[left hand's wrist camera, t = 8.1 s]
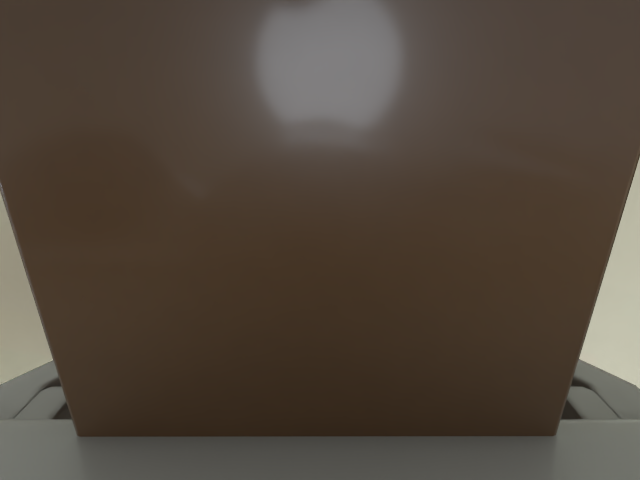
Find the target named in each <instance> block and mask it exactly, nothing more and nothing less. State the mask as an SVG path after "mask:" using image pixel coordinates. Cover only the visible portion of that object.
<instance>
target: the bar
mask: <svg viewBox="0 0 640 480" xmlns="http://www.w3.org/2000/svg"><path fill="white" fill-rule="evenodd" d="M639 157H640V0H0V191H1V194H2V197H3V201H4V204H5V207H6V210H7V213H8V217H9V220H10V223H11V226H12V229H13V233H14V236H15V239H16V242H17V245H18V249H19V252H20V255H21V258H22V261H23V265H24V268H25V271H26V274H27V277H28V281H29V284H30V287H31V290H32V293H33V297H34V300H35V303H36V306H37V309H38V313H39V316H40V319H41V322H42V325H43V329H44V332H45V335H46V338H47V341H48V345H49V348H50V351H51V354H52V357H53V361H54V364H55V367H56V370H57V373H58V377H59V380H60V383H61V386H62V389H63V393H64V396H65V399H66V402H67V405H68V409H69V412H70V415H71V418H72V421H73V425H74V428H75V431H76V434H77V436H80V437H268V436H555V435H556V433H557V430H558V426H559V423H560V420H561V416H562V413H563V410H564V406H565V403H566V400H567V396H568V393H569V390H570V386H571V383H572V380H573V377H574V373H575V370H576V367H577V363H578V360H579V357H580V353H581V350H582V347H583V343H584V340H585V337H586V333H587V330H588V327H589V323H590V320H591V317H592V313H593V310H594V307H595V303H596V300H597V297H598V293H599V290H600V287H601V283H602V280H603V277H604V273H605V270H606V267H607V263H608V260H609V257H610V253H611V250H612V247H613V243H614V240H615V237H616V233H617V230H618V227H619V223H620V220H621V217H622V213H623V210H624V207H625V203H626V200H627V197H628V193H629V190H630V187H631V183H632V180H633V177H634V173H635V170H636V167H637V164H638V160H639Z"/></svg>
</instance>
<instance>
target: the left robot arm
mask: <svg viewBox="0 0 640 480" xmlns="http://www.w3.org/2000/svg"><path fill="white" fill-rule="evenodd" d="M0 480H640V389H639V388H638V387H637V386H636V385H633V384H631V383H629V382H627V381H625V380H623V379H621V378H618V377H616V376H614V375H612V374H610V373H608V372H606V371H603V370H601V369H599V368H597V367H595V366H593V365H591V364H588V363H586V362H584V361H582V360H580V359H579V360H578V363H577V367H576V370H575V373H574V377H573V380H572V383H571V386H570V390H569V393H568V396H567V400H566V403H565V406H564V410H563V413H562V416H561V420H560V423H559V426H558V430H557V433H556V435H555V436H268V437H80V436H77V434H76V431H75V428H74V425H73V421H72V418H71V415H70V412H69V409H68V405H67V402H66V399H65V396H64V393H63V389H62V386H61V383H60V380H59V377H58V373H57V370H56V367H55V364H54V361H51V362H49V363H46V364H44V365H42V366H40V367H38V368H36V369H33V370H31V371H29V372H27V373H25V374H23V375H20V376H18V377H16V378H14V379H12V380H10V381H7V382H5V383H3V384H1V385H0Z"/></svg>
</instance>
